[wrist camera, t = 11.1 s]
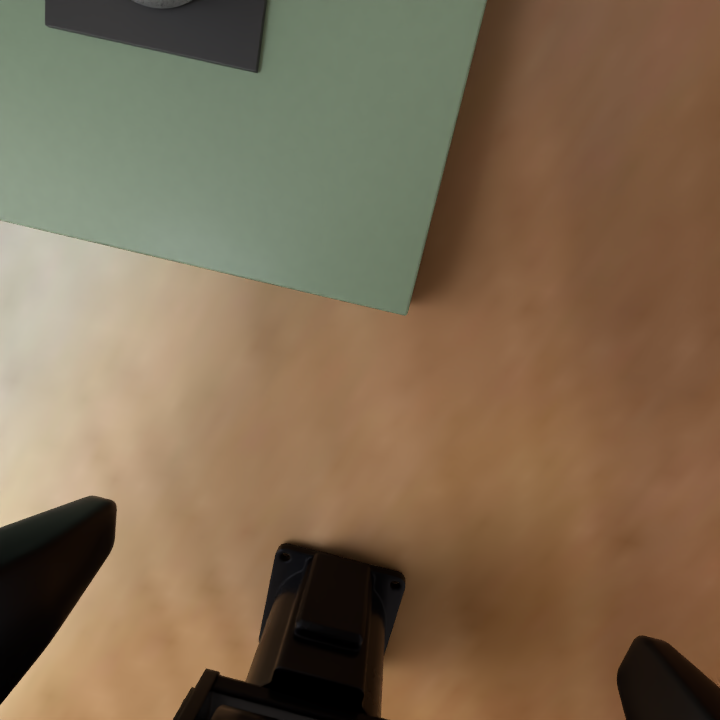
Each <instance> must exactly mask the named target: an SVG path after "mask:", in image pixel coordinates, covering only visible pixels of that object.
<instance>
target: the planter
mask: <svg viewBox="0 0 720 720" xmlns="http://www.w3.org/2000/svg"><path fill="white" fill-rule="evenodd" d="M132 1H134V2H136V3H139V4H141V5H144V6H147V7H151V8H160V9H164V8H174V7H178V6H181V5H183V4H186V3H188V2H190V1H192V0H132Z"/></svg>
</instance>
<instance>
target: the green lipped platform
mask: <svg viewBox="0 0 720 720" xmlns="http://www.w3.org/2000/svg"><path fill="white" fill-rule="evenodd" d="M486 3H487V0H192V1H190V2H188V3H186V4H183V5H181V6H178V7H174V8H164V9H160V8H151V7H147V6H144V5H141V4H139V3H136V2H134V1H132V0H0V221H5V222H9V223H13V224H17V225H22V226H26V227H30V228H34V229H39V230H43V231H47V232H51V233H56V234H60V235H64V236H68V237H73V238H77V239H81V240H85V241H90V242H94V243H98V244H102V245H107V246H111V247H115V248H119V249H124V250H128V251H132V252H136V253H141V254H145V255H149V256H153V257H158V258H162V259H166V260H170V261H175V262H179V263H183V264H187V265H192V266H196V267H200V268H204V269H209V270H213V271H217V272H221V273H226V274H230V275H234V276H238V277H243V278H247V279H251V280H255V281H260V282H264V283H268V284H272V285H277V286H281V287H285V288H289V289H294V290H298V291H302V292H306V293H311V294H315V295H319V296H323V297H328V298H332V299H336V300H341V301H345V302H349V303H353V304H358V305H362V306H366V307H370V308H375V309H379V310H383V311H387V312H392V313H396V314H400V315H404V316H405V315H407V313H408V310H409V306H410V302H411V298H412V294H413V290H414V286H415V282H416V278H417V274H418V270H419V266H420V262H421V258H422V255H423V251H424V247H425V243H426V239H427V235H428V231H429V227H430V223H431V219H432V215H433V211H434V207H435V204H436V200H437V196H438V192H439V188H440V184H441V180H442V176H443V172H444V168H445V164H446V160H447V156H448V152H449V149H450V145H451V141H452V137H453V133H454V129H455V125H456V121H457V117H458V113H459V109H460V105H461V101H462V97H463V94H464V90H465V86H466V82H467V78H468V74H469V70H470V66H471V62H472V58H473V54H474V50H475V46H476V42H477V39H478V35H479V31H480V27H481V23H482V19H483V15H484V11H485V7H486Z"/></svg>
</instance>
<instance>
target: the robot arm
mask: <svg viewBox="0 0 720 720" xmlns="http://www.w3.org/2000/svg"><path fill="white" fill-rule="evenodd" d="M116 512H117V508H116V503H115V502H114V501H112V500H109V499H105V498H102V497H98V496H88V497H85V498H82V499H79V500H76V501H74V502H71V503H68V504H65V505H62V506H60V507H57V508H54V509H51V510H48V511H46V512H43V513H40V514H37V515H34V516H32V517H29V518H26V519H23V520H20V521H18V522H15V523H12V524H9V525H6V526H4V527H1V528H0V705H1V703H2V702H3V701H4V700H5V698H6V697H7V696H8V695H9V693H10V692H11V691H12V690H13V688H14V687H15V686H16V685H17V684H18V682H19V681H20V680H21V679H22V677H23V676H24V675H25V674H26V672H27V671H28V670H29V669H30V667H31V666H32V665H33V664H34V662H35V661H36V660H37V659H38V657H39V656H40V655H41V653H42V652H43V651H44V650H45V648H46V647H47V646H48V644H49V643H50V642H51V640H52V639H53V637H54V636H55V634H56V633H57V632H58V630H59V629H60V627H61V626H62V624H63V623H64V621H65V620H66V618H67V617H68V615H69V614H70V612H71V611H72V609H73V608H74V606H75V605H76V603H77V602H78V600H79V599H80V597H81V596H82V594H83V593H84V591H85V590H86V588H87V587H88V585H89V584H90V582H91V581H92V579H93V578H94V576H95V575H96V573H97V572H98V570H99V569H100V567H101V566H102V564H103V563H104V561H105V560H106V558H107V557H108V555H109V554H110V552H111V550H112V547H113V545H114V540H115V527H116ZM283 553H287V554H289V556H285V555H284V554H283ZM393 581H397V582H399V583H397V584H395V583H392V582H393ZM404 590H405V577H404V575H403V574H402V573H400V572H398V571H394V570H390V569H387V568H383V567H379V566H375V565H371V564H367V563H363V562H359V561H355V560H351V559H347V558H343V557H339V556H335V555H331V554H328V553H324V552H320V551H316V550H312V549H308V548H304V547H300V546H296V545H292V544H286V543H285V544H281V545H280V546H279V547H278V550H277V552H276V555H275V559H274V564H273V569H272V575H271V580H270V585H269V590H268V595H267V600H266V605H265V610H264V615H263V620H262V625H261V631H260V636H259V645H258V648H257V650H256V653H255V656H254V659H253V662H252V664H251V667H250V670H249V673H248V676H247V679H246V681H245V682H244V681H240V680H236V679H233V678H229V677H225V676H221V675H220V672H218V671H214V670H210V669H206V670H205V671H204V673H203V675H202V676H201V678H200V680H199V682H198V683H197V685H196V687H195V688H193V687H192V688H191V689H190V691H189V693H188V695H187V696H186V698H185V699H184V700H183V702H182V705H181V707H180V708H179V710H178V712H177V713H176V715H175V717H174V719H173V720H388V719H384V718H381V702H382V681H383V660H384V654H385V651H386V648H387V644H388V641H389V638H390V635H391V632H392V628H393V625H394V622H395V619H396V616H397V612H398V609H399V606H400V603H401V599H402V596H403V593H404ZM617 686H618V690H619V694H620V698H621V702H622V706H623V710H624V713H625V717H626V720H720V688H719V687H718V686H717V685H716V684H715V683H713V682H712V681H711V680H710V679H709V678H708V677H707V676H705V675H704V674H703V673H702V672H701V671H700V670H699V669H697V668H696V667H695V666H694V665H693V664H692V663H691V662H689V661H688V660H687V659H686V658H685V657H684V656H683V655H681V654H680V653H679V652H678V651H677V650H676V649H675V648H673V647H672V646H671V645H670V644H669V643H667V642H665V641H663V640H659V639H655V638H651V637H647V636H638V637H636V638H635V639H634V640H633V642H632V644H631V646H630V648H629V650H628V652H627V653H626V655H625V657H624V659H623V661H622V663H621V665H620V667H619V669H618V673H617Z"/></svg>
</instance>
